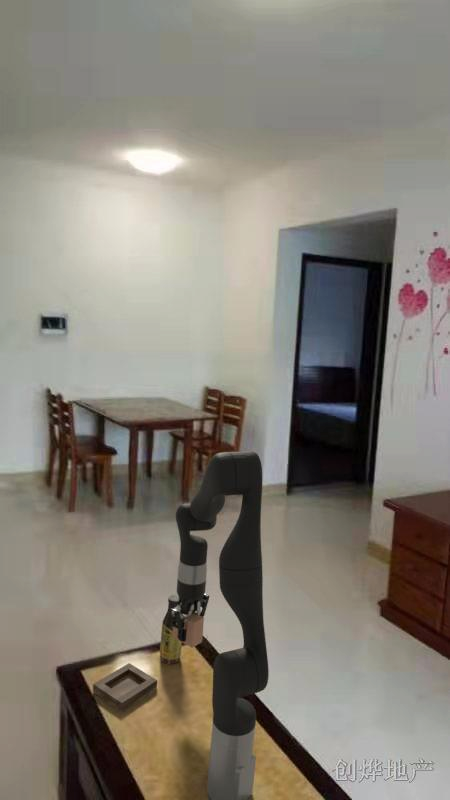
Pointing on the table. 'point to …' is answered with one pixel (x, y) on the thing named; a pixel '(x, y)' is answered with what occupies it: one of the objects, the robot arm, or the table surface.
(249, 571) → the robot arm
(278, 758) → the table surface
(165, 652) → the sauce bottle
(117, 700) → the cradle
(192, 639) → the key block
